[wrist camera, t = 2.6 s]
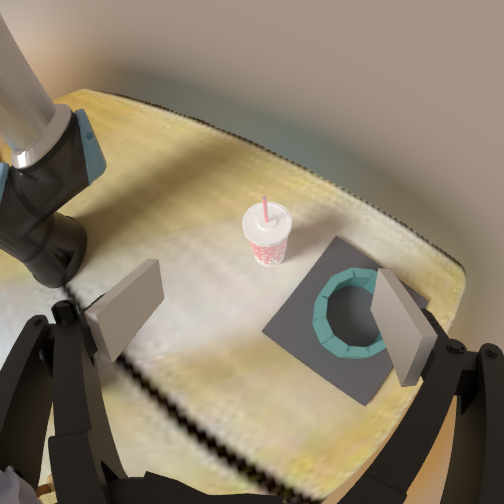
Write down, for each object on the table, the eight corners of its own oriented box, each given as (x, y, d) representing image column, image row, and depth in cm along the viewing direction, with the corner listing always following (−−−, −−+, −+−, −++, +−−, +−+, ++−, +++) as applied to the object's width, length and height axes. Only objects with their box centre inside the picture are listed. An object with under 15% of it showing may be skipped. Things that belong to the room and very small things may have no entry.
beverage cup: (284, 276, 40) (285, 228, 27) (244, 265, 41) (227, 215, 28) (294, 240, 42) (298, 182, 29) (256, 230, 43) (246, 171, 31)
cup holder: (262, 331, 37) (259, 325, 32) (335, 238, 41) (340, 222, 37) (363, 405, 31) (375, 409, 26) (425, 303, 35) (441, 293, 31)
